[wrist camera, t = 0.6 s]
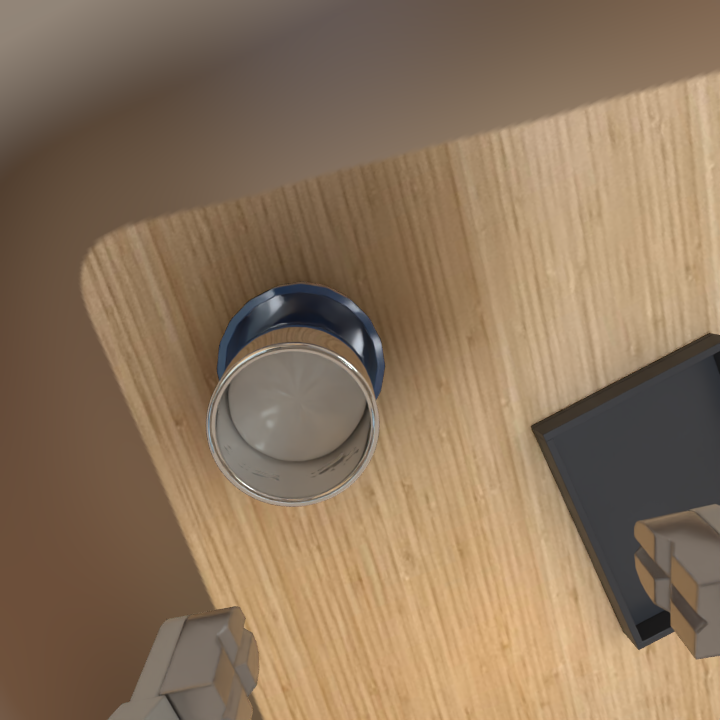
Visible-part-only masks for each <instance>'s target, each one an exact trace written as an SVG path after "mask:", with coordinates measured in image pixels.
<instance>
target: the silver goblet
mask: <svg viewBox="0 0 720 720" xmlns="http://www.w3.org/2000/svg"><path fill="white" fill-rule="evenodd" d="M379 427H380V421H379V411H378V406H377V402H376V399H375V394H374V389H373V384H372V381H371V378H370V375H369V373H368V370H367V368H366V366H365V364H364V362H363V360H362V358H361V357H360V355H359V354H358V353H357V351H356V350H355V348H354V347H353V346H352V345H351V344H350V343H349V342H348V341H347V340H346V339H345V338H344V336H343V334H342V333H341V331H340V330H339V329H338V327H337V326H336V325H335V324H334V323H333V322H332V321H330V320H329V319H327V318H326V317H324V316H322V315H319V314H316V313H312V312H295V313H291V314H288V315H285V316H283V317H281V318H280V319H278V320H277V321H275V322H274V323H273V324H272V325H271V326H270V327H269V328H267V329H265V330H263V331H261V332H260V333H258V334H257V335H255V336H254V337H253V338H251V339H250V340H249V341H248V342H247V343H245V344H244V345H243V346H242V347H241V348H240V349H239V351H238V352H237V353H236V354H235V356H234V357H233V359H232V360H231V361H230V363H229V364H228V366H227V368H226V370H225V371H224V373H223V375H222V377H221V380H220V381H219V383H218V384H217V386H216V388H215V390H214V392H213V394H212V397H211V399H210V402H209V406H208V411H207V418H206V432H207V440H208V444H209V448H210V451H211V454H212V456H213V458H214V460H215V462H216V464H217V466H218V467H219V469H220V470H221V472H222V473H223V474H224V476H225V477H226V478H227V479H228V480H229V481H230V482H231V483H232V484H233V485H234V486H235V487H237V488H238V489H239V490H241V491H242V492H244V493H245V494H247V495H249V496H250V497H252V498H255V499H257V500H259V501H262V502H265V503H268V504H272V505H277V506H286V507H299V506H307V505H313V504H317V503H320V502H323V501H326V500H328V499H330V498H332V497H334V496H336V495H338V494H340V493H341V492H343V491H344V490H346V489H347V488H348V487H350V486H351V485H352V484H353V483H354V482H355V481H356V480H357V479H358V478H359V477H360V476H361V474H362V473H363V472H364V471H365V469H366V468H367V466H368V464H369V463H370V461H371V459H372V457H373V454H374V452H375V449H376V446H377V442H378V437H379Z"/></svg>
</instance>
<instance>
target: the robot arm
mask: <svg viewBox="0 0 720 720" xmlns="http://www.w3.org/2000/svg"><path fill="white" fill-rule="evenodd" d="M634 537H635V538H636V539H637V541H638V542H639V543H640V544H641V546H640V547H639V549H638V550H637V551H636V553H635V567H636V570H637V573H638V576H639V579H640V582H641V584H642V585H643V587H644V589H645V591H646V593H647V594H648V595H649V597H650V598H651V600H652V601H653V602H654V604H655V605H657V606H659V607H661V608H662V609H664V610H666V611H668V612H670V613H671V627H672V628H673V630H674V631H675V632H676V634H677V635H678V636H679V638H680V639H681V640H682V642H683V643H684V644H685V646H686V647H687V648H688V650H689V651H690V652H691V654H692V655H693V656H694V658H695V659H702V658H708V657H714V656H720V506H719V505H717V504H713V505H708V506H703V507H699V508H694V509H690V510H688V511H686V510H685V511H680V512H676V513H671V514H667V515H662V516H658V517H653V518H649V519H644V520H640V521H637V522H636V524H635V526H634ZM245 619H246V618H245V616H244V614H243V612H242V610H241V608H240V607H236V606H235V607H229V608H224V609H218V610H213V611H207V612H202V613H196V614H191V615H188V616H182V617H177V618H171V619H167V620H166V621H165V622H164V623H163V624H162V625H161V627H160V629H159V632H158V634H157V636H156V639H155V641H154V644H153V646H152V649H151V651H150V653H149V656H148V658H147V661H146V663H145V666H144V668H143V671H142V673H141V675H140V678H139V680H138V683H137V685H136V688H135V690H134V693H133V695H132V697H131V700H130V702H127V703H123V704H121V706H120V707H119V708H118V709H117V710H116V711H115V712H114V713H113V714H112V715H111V716H110V718H109V719H108V720H251V717H252V711H253V708H252V706H251V704H250V702H249V700H248V696H249V695H250V694H251V692H252V691H253V689H254V688H255V687H256V685H257V681H258V674H259V651H258V647H257V643H256V640H255V638H254V635H253V633H252V632H250V631H248V630H246V629H245V628H244V623H245Z"/></svg>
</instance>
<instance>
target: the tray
mask: <svg viewBox="0 0 720 720" xmlns="http://www.w3.org/2000/svg"><path fill="white" fill-rule="evenodd" d="M531 427H532V429H533V432H534V434H535V436H536V438H537V441H538V443H539V445H540V447H541V449H542V452H543V454H544V456H545V458H546V461H547V463H548V465H549V467H550V469H551V472H552V474H553V476H554V478H555V481H556V483H557V485H558V487H559V489H560V492H561V494H562V496H563V498H564V501H565V503H566V505H567V507H568V509H569V512H570V514H571V516H572V518H573V521H574V523H575V525H576V527H577V529H578V532H579V534H580V536H581V538H582V541H583V543H584V545H585V547H586V549H587V552H588V554H589V556H590V558H591V561H592V563H593V565H594V567H595V569H596V572H597V574H598V576H599V578H600V581H601V583H602V585H603V587H604V589H605V592H606V594H607V596H608V598H609V601H610V603H611V605H612V607H613V609H614V612H615V614H616V616H617V618H618V621H619V623H620V625H621V627H622V629H623V632H624V633H625V634H626V635H627V637H628V638H629V639H630V640H631V642H632V643H633V644H634V645H635V646H636V647H637V649H638V650H640V649H642V648H644V647H646V646H647V645H649V644H651V643H653V642H655V641H657V640H659V639H661V638H663V637H665V636H667V635H669V634H671V633H673V632H675V631H674V630H673V628H672V627H671V613H670V612H668V611H666V610H664V609H662V608H661V607H659V606H657V605H655V604H654V602H653V601H652V600H651V598H650V597H649V595H648V594H647V593H646V591H645V589H644V587H643V585H642V584H641V582H640V579H639V576H638V573H637V570H636V567H635V553H636V551H637V550H638V549H639V547H640V546H641V544H640V543H639V542H638V541H637V539H636V538H635V537H634V526H635V524H636V522H637V521H640V520H644V519H649V518H653V517H658V516H662V515H667V514H671V513H676V512H680V511H685V510H686V511H688V510H690V509H694V508H699V507H703V506H708V505H713V504H717V505H719V506H720V335H717V334H711V333H709V334H707V335H706V336H704V337H702V338H700V339H698V340H696V341H694V342H692V343H690V344H688V345H686V346H684V347H683V348H681V349H679V350H677V351H675V352H673V353H671V354H669V355H667V356H665V357H663V358H661V359H659V360H658V361H656V362H654V363H652V364H650V365H648V366H646V367H644V368H642V369H640V370H638V371H636V372H635V373H633V374H631V375H629V376H627V377H625V378H623V379H621V380H619V381H617V382H615V383H613V384H611V385H610V386H608V387H606V388H604V389H602V390H600V391H598V392H596V393H594V394H592V395H590V396H588V397H587V398H585V399H583V400H581V401H579V402H577V403H575V404H573V405H571V406H569V407H567V408H565V409H564V410H562V411H560V412H558V413H556V414H554V415H552V416H550V417H548V418H546V419H544V420H542V421H540V422H539V423H537V424H535V425H533V426H531Z"/></svg>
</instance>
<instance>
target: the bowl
mask: <svg viewBox="0 0 720 720" xmlns="http://www.w3.org/2000/svg"><path fill="white" fill-rule="evenodd" d="M295 312H312V313H316V314H319V315H322V316H324V317H326V318H327V319H329V320H330V321H332V322H333V323H334V324H335V325H336V326H337V327H338V329H339V330H340V331H341V333H342V334H343V336H344V338H345V339H346V340H347V341H348V342H349V343H350V344H351V345H352V346H353V347H354V348H355V350H356V351H357V353H358V354H359V355H360V357H361V358H362V360H363V362H364V364H365V366H366V368H367V370H368V373H369V375H370V378H371V381H372V384H373V389H374V394H375V399H377V398H378V396H379V394H380V392H381V388H382V382H383V376H384V370H385V362H384V355H383V349H382V342H381V340H380V338H379V336H378V334H377V332H376V330H375V328H374V326H373V324H372V322H371V320H370V319H369V317H368V316H367V315H366V314H365V313H364V312H363V311H362V310H361V309H360V308H359V307H358V306H357V305H356V304H355V303H354V302H353V301H352V300H351V299H350V298H349V297H347V296H346V295H344V294H343V293H341V292H339V291H337V290H335V289H333V288H331V287H329V286H327V285H323V284H316V283H310V282H295V283H289V284H283V285H279V286H276V287H274V288H272V289H270V290H268V291H266V292H264V293H262V294H260V295H258V296H257V297H255V298H253V299H251V300H250V301H248V302H247V303H246V304H245V305H244V306H243V307H242V308H241V309H240V310H239V311H238V313H237V314H236V315H235V316H234V317H233V318H232V319H231V320H230V322H229V324H228V326H227V328H226V331H225V333H224V335H223V337H222V339H221V342H220V345H219V353H218V363H217V373H218V378H219V381H220V380H221V377H222V375H223V373H224V371H225V370H226V368H227V366H228V364H229V363H230V361H231V360H232V359H233V357H234V356H235V354H236V353H237V352H238V351H239V349H240V348H241V347H242V346H243V345H244V344H245V343H247V342H248V341H249V340H250V339H251V338H253V337H254V336H255V335H257V334H258V333H260V332H261V331H263V330H265V329H267V328H269V327H270V326H271V325H272V324H273V323H274V322H275V321H277V320H278V319H280V318H281V317H283V316H285V315H288V314H291V313H295Z"/></svg>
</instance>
